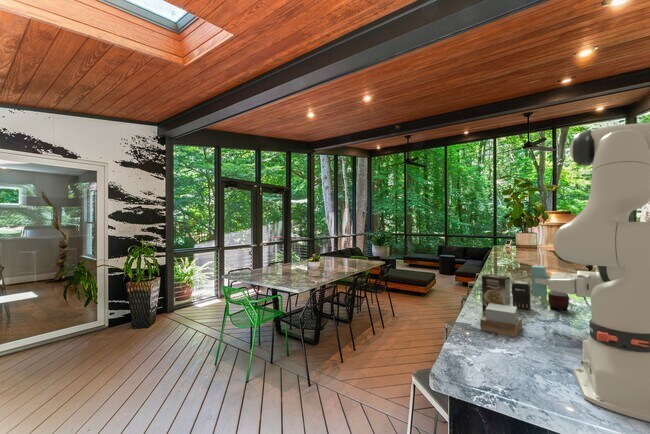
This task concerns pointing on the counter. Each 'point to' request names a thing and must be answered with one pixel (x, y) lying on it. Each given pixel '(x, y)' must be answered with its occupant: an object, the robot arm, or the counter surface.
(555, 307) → the mate gourd
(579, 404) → the counter surface
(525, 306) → the battery charger
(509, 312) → the tower top
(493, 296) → the coffee box
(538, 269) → the teal block
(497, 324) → the tower base
